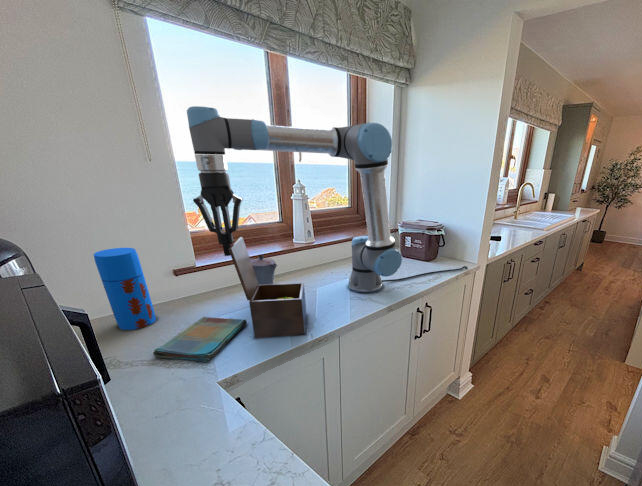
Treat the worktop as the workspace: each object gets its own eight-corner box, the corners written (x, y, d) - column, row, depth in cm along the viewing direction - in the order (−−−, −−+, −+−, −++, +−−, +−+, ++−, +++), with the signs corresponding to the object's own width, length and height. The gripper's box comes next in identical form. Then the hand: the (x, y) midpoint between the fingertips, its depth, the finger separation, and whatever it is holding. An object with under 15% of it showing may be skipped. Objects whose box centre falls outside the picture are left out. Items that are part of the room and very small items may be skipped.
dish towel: (151, 358, 92) (149, 350, 91) (201, 320, 113) (200, 314, 112) (209, 362, 91) (207, 355, 90) (248, 323, 112) (247, 317, 111)
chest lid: (242, 236, 104) (239, 237, 104) (231, 248, 91) (228, 248, 91) (258, 283, 111) (256, 283, 111) (250, 300, 98) (247, 300, 98)
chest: (306, 315, 119) (303, 282, 114) (304, 334, 106) (301, 299, 101) (262, 317, 117) (257, 284, 112) (254, 338, 104) (249, 301, 98)
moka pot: (276, 310, 122) (269, 259, 114) (239, 306, 125) (230, 256, 117) (287, 300, 131) (282, 252, 123) (253, 296, 134) (246, 249, 125)
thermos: (117, 321, 112) (92, 250, 102) (154, 312, 118) (134, 245, 108) (119, 333, 104) (93, 258, 94) (158, 324, 111) (137, 253, 100)
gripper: (182, 172, 85) (201, 258, 94) (235, 172, 87) (248, 257, 97) (192, 170, 92) (209, 251, 101) (241, 171, 94) (253, 250, 103)
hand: (228, 254), depth 99 cm, fingers closed
